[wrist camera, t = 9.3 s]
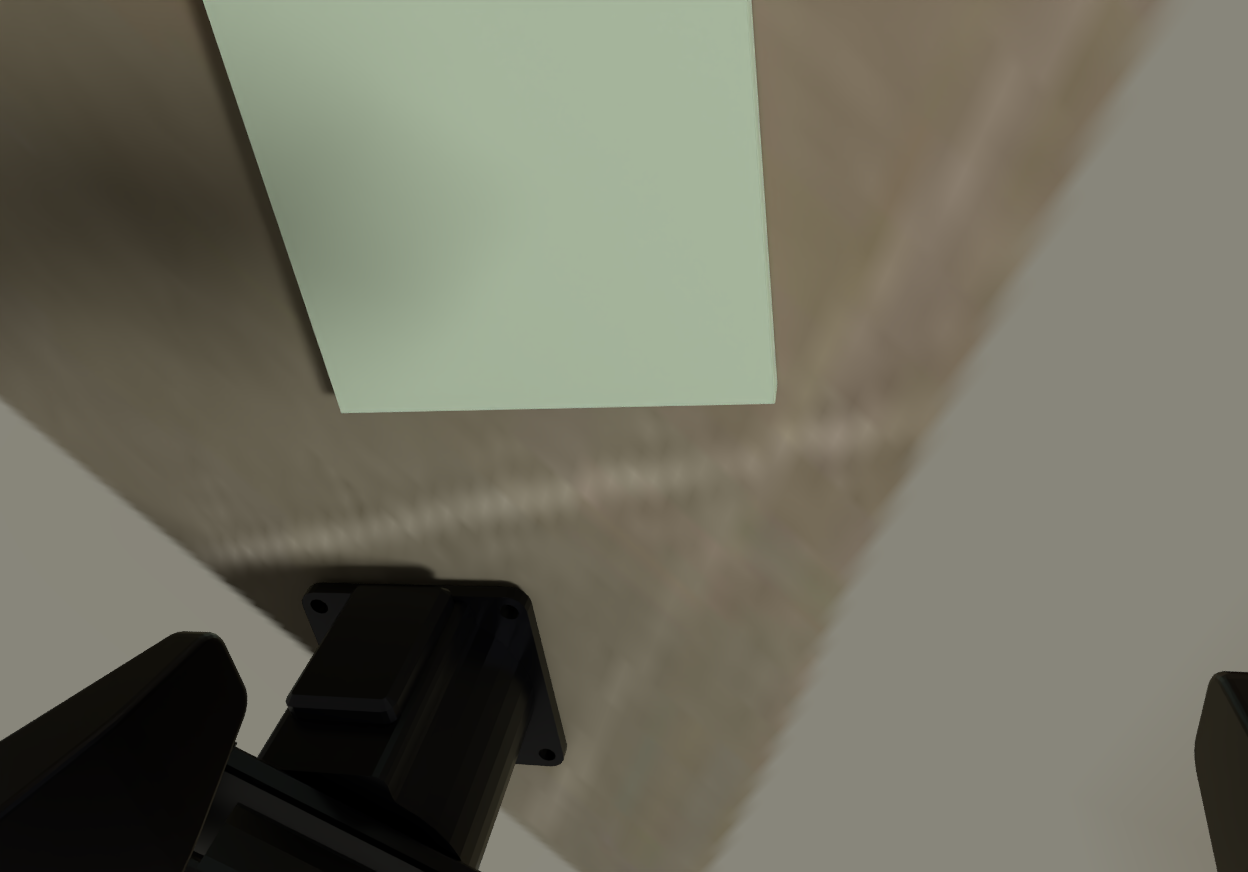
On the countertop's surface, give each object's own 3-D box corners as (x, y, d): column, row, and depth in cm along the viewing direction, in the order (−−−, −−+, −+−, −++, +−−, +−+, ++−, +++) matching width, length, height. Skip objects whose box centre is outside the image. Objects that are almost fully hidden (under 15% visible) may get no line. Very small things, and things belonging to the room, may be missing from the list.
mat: (777, 384, 21) (774, 403, 21) (355, 395, 24) (341, 413, 23) (741, -149, 16) (735, -147, 16) (205, -67, 19) (181, -62, 18)
